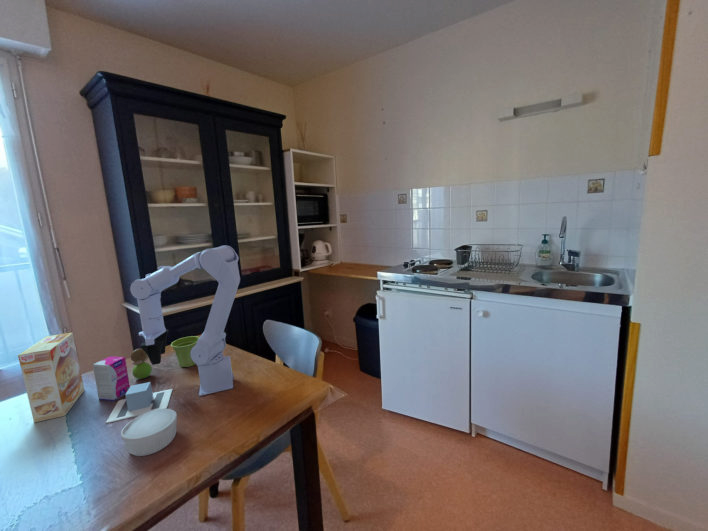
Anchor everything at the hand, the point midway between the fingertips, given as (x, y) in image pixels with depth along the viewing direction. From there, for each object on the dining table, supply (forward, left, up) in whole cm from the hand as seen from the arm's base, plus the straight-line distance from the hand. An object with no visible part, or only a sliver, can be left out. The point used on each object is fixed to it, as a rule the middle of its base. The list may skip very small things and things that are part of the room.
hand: (158, 358), depth 100 cm
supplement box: (+13, -1, -10) cm, 16 cm away
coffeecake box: (+27, -2, -10) cm, 28 cm away
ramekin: (-2, +28, -10) cm, 30 cm away
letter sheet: (+4, +9, -9) cm, 14 cm away
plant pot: (-6, -14, -10) cm, 18 cm away
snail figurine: (+7, -10, -10) cm, 16 cm away
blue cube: (+4, +9, -9) cm, 13 cm away
